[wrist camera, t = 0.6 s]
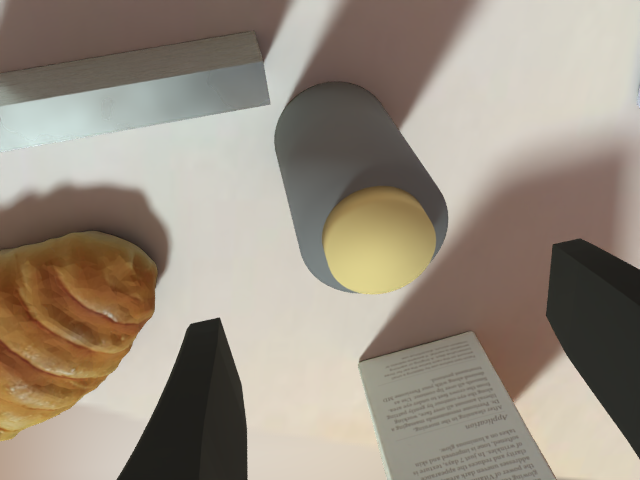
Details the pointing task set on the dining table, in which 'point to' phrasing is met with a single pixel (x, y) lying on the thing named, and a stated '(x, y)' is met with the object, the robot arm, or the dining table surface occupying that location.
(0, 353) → the pastry
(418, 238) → the grey canister
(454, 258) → the dining table surface
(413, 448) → the small box
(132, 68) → the metal brackets
